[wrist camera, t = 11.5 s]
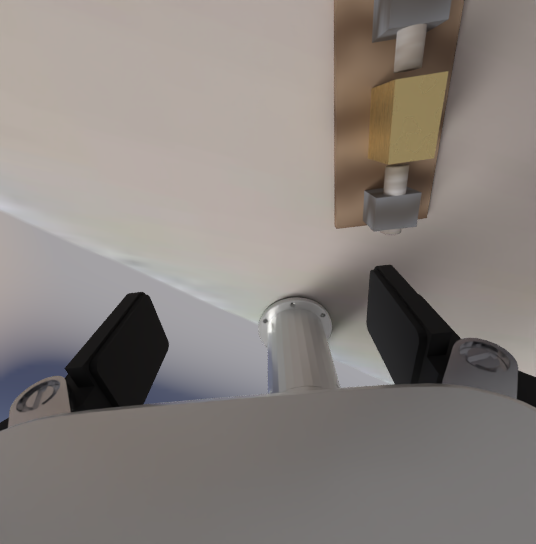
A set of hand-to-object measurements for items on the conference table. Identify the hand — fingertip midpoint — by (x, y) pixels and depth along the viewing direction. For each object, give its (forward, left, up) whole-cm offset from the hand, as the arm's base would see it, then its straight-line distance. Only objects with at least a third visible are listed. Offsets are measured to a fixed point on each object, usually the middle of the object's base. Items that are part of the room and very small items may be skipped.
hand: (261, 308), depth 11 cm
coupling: (+6, -15, -25) cm, 30 cm away
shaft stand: (+6, -15, -26) cm, 31 cm away
